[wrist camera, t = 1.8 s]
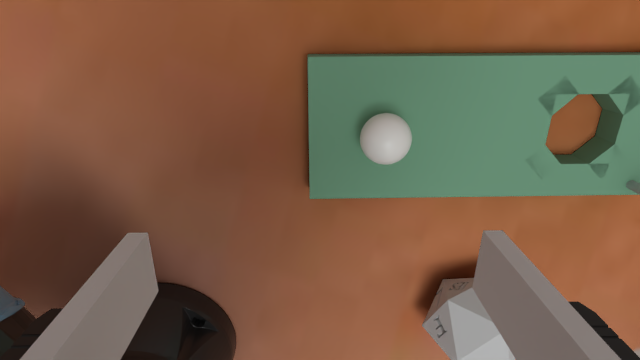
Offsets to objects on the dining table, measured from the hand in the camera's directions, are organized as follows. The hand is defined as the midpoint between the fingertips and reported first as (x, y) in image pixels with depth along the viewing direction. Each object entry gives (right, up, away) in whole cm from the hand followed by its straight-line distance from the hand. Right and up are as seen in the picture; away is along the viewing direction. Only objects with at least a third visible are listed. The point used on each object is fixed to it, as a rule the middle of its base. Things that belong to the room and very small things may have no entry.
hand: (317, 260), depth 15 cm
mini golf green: (+14, +8, +19) cm, 25 cm away
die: (+15, -9, +27) cm, 32 cm away
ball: (+5, +6, +15) cm, 17 cm away
